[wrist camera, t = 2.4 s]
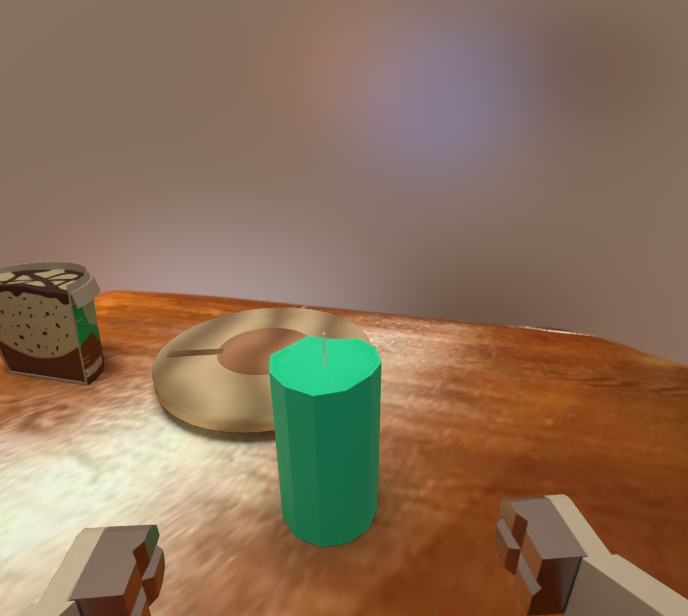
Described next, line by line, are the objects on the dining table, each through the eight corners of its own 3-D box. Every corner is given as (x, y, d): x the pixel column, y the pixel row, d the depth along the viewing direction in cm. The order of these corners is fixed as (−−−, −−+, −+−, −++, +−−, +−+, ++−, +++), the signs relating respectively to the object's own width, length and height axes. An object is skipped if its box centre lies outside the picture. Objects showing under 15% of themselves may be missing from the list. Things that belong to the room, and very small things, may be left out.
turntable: (358, 315, 50) (358, 303, 50) (390, 422, 32) (391, 405, 31) (187, 323, 49) (185, 311, 48) (117, 441, 30) (112, 424, 30)
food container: (145, 355, 44) (125, 263, 40) (101, 387, 39) (72, 285, 35) (50, 342, 47) (22, 256, 43) (-4, 371, 41) (-42, 275, 37)
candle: (395, 496, 27) (404, 327, 22) (336, 567, 22) (331, 377, 18) (324, 455, 30) (318, 302, 25) (261, 510, 26) (240, 338, 21)
